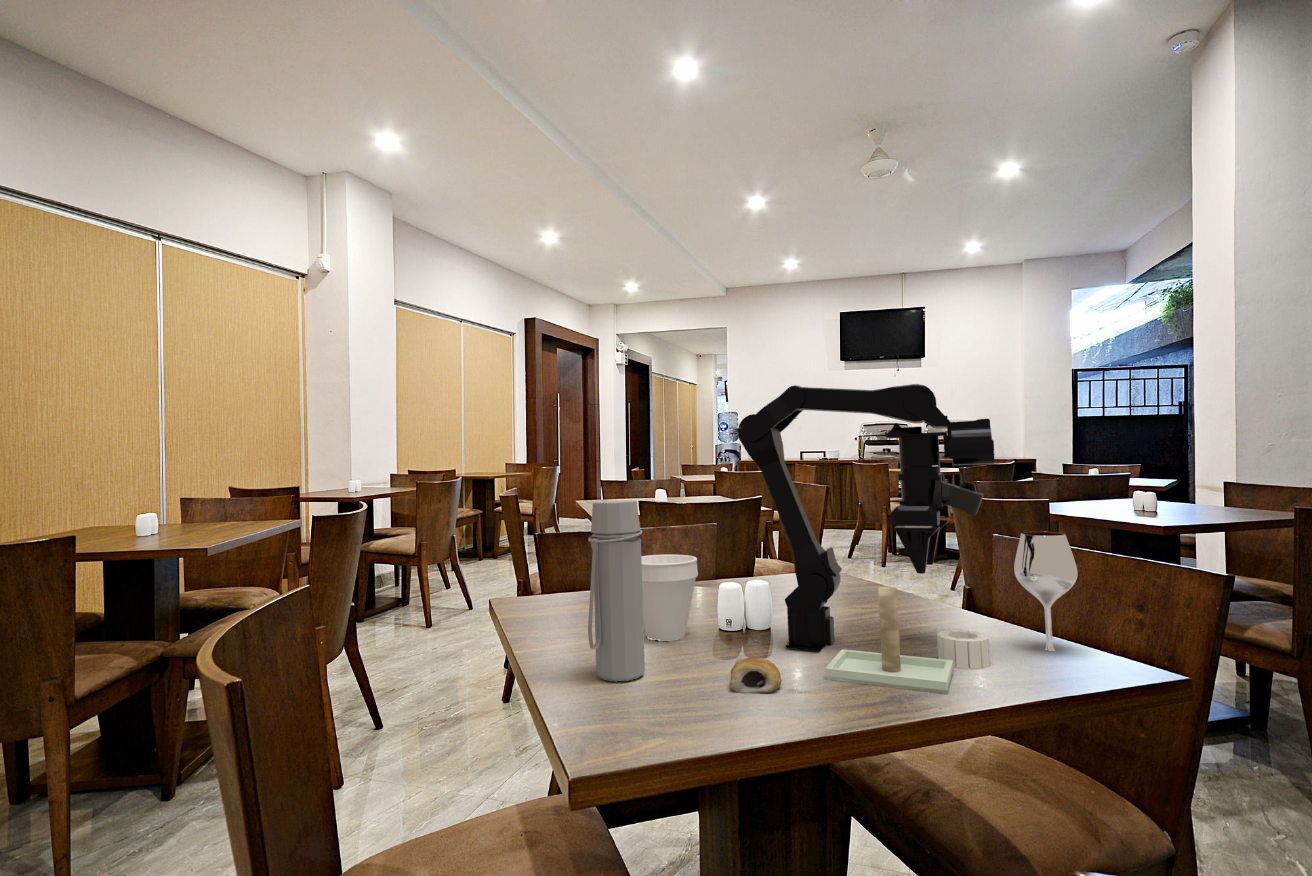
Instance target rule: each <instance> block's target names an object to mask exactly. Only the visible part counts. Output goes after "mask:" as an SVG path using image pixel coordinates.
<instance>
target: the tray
mask: <svg viewBox="0 0 1312 876" xmlns="http://www.w3.org/2000/svg"><path fill="white" fill-rule="evenodd" d="M900 664H901V671H900V672H886V671H883V670H882V656H881V652H872V651H862V650H855V649H854V650H852V649H843V648H842V649H841V650H840V651H839V652H838V653H837V654H836V655H835V656H834V658H832V659H831V661H830V662H829V663H828V664H827V666H826V667H825V668H824V678H825V679H824V680H827V681H828V680H829V681H836V682H842V683H843V682H844V683H852V684H862V685H868V686H877V687H883V688H884V687H885V688H893V689H901V690H909V691H911V690H912V691H918V692H926V693H927V692H928V693H933V694H935V693H936V694H942V695H948V694H949V691H950V690H949V689H950V686H951V683H952V679H953V676H954V672H955V670H954V669H955V667H953V660H945V659H938V658H934V657H933V658H932V657H923V656H922V657H921V656H915V655H914V656H913V655H902V654H900Z"/></svg>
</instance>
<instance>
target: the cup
mask: <svg viewBox="0 0 1312 876" xmlns="http://www.w3.org/2000/svg"><path fill="white" fill-rule="evenodd" d="M641 559H642V591H643V623H644V635H645V637H646V636H647V637H649V638H652V639H660V640H674V639H680V638H682V637H684V636H685V637H686V633H687V632H686V631H687V626H688V622H689V616H690V610H691V606H692V599H693V595H694V589H695V584H696V578H697V577H699V571H698V562H697V561H698V558H697V557H696V556H694V555H687V554H685V555H684V554H652V555H651V554H649V555H641ZM685 637H684V638H685ZM680 640H681V639H680Z"/></svg>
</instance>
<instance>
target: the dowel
mask: <svg viewBox="0 0 1312 876" xmlns="http://www.w3.org/2000/svg"><path fill="white" fill-rule="evenodd" d="M877 589H878V591H877V593H878V611H879V612H878V613H879V633H880V653H881V656H882V670H883V671H886V672H900V671H901V664H900V655H901V649H900V647H901V646H900V628H899V611H898V609H899V608H898V589H897V587H893V586H880V587H878V588H877Z"/></svg>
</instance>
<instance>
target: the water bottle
mask: <svg viewBox="0 0 1312 876" xmlns="http://www.w3.org/2000/svg"><path fill="white" fill-rule="evenodd" d="M639 516H640V515H639V509H638V501H637V500H610V501H609V500H606V501H596V502H594V501H593V502H592V512H591V524H590V525H591V528H590V530H591V531H590V533H592V534H591V535H590V536H589V537H588V538H587V540H588V542H589V543H590V545H591V547H590V548H591V550H592V557H591V558H592V560H591V573H590V574H591V575H590V590H589V606H588V607H589V608H588V622H587V623H588V625H587V635H588V643H589V648H590V649H592V650H595V663H596V664H595V671H596V673H595V674H596V675H597V677H599V678H601V679H602V680H605V681H606V680H607V681H608V682H612V681H614V682H613V683H618V682H617V681H626V682H630V681H629V680H631V681H634V680H633V679H635V680H636V679H638V678H640V677H642V676H643V675H644V673H645V672H646V671H645V670H646V663H645V662H646V661H645V660H646V659H645V657H646V656H645V630H644V623H643V591H642V559H641V556H642V539H641V538H639V536H641V535H642V534H643V530H642V529H641V525H640V518H639ZM593 616H594V617H593ZM593 619H594V634H595V636H594V637H595V639H594V638H593ZM593 639H594V640H595V643H594V640H593ZM607 681H606V682H607Z"/></svg>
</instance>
